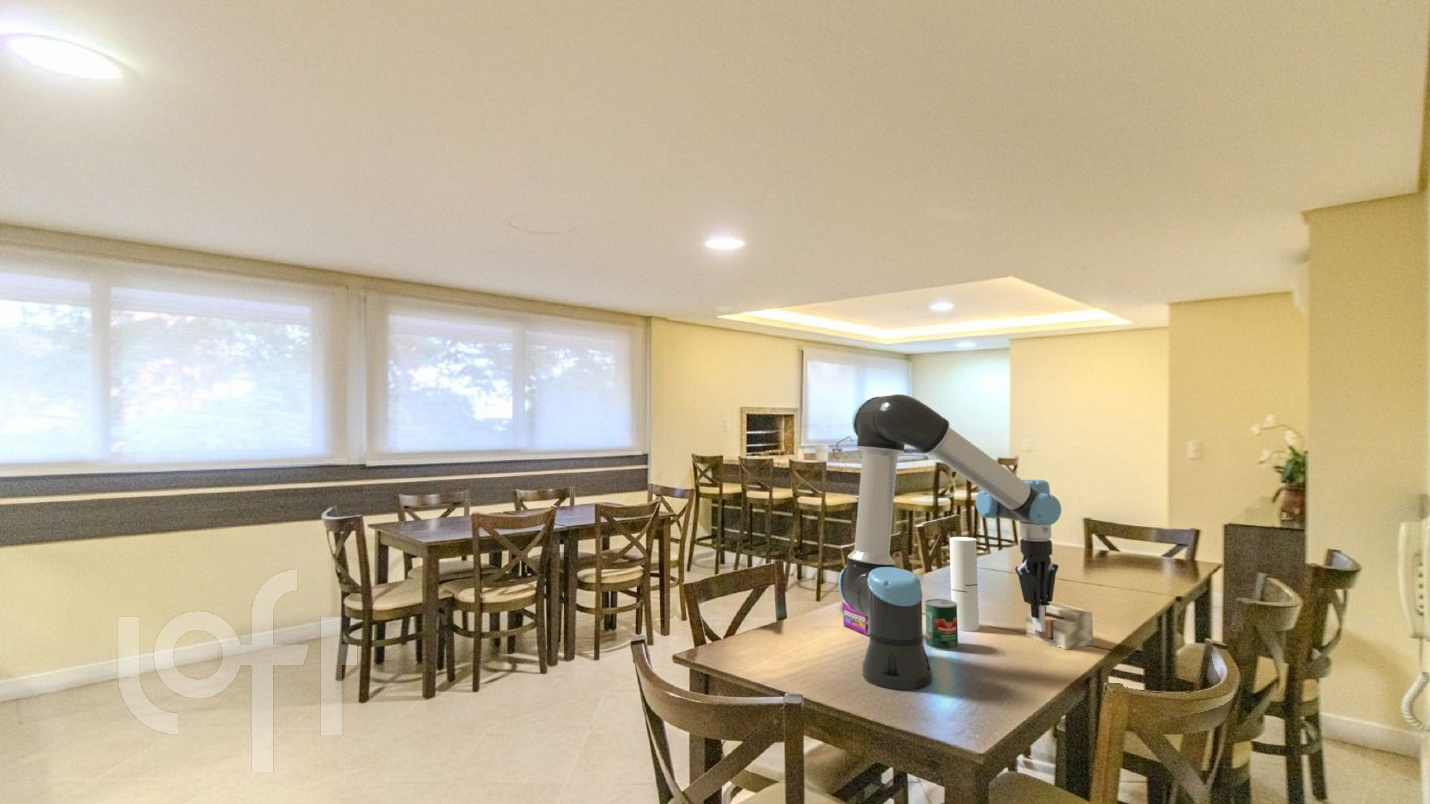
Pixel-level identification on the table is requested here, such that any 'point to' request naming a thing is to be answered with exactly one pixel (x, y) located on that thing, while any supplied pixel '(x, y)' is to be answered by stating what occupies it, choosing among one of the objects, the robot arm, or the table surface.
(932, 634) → the canned tomato
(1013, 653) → the table surface
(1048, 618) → the peg
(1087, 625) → the sleeve
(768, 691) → the table surface
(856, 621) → the candy bar box
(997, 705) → the table surface
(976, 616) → the cylindrical container
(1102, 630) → the table surface
